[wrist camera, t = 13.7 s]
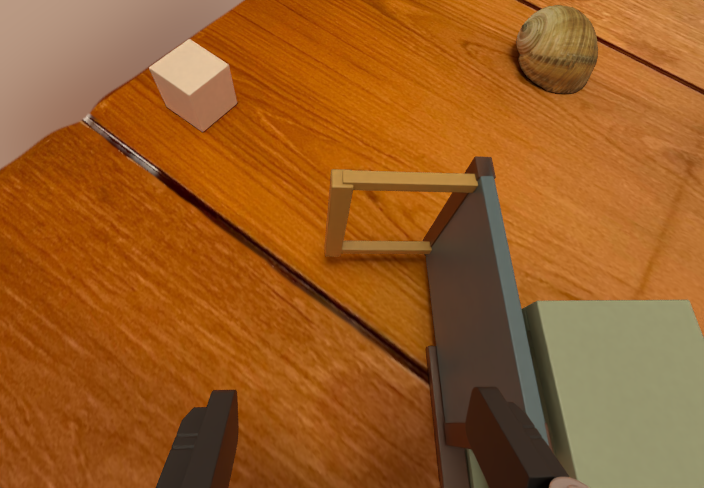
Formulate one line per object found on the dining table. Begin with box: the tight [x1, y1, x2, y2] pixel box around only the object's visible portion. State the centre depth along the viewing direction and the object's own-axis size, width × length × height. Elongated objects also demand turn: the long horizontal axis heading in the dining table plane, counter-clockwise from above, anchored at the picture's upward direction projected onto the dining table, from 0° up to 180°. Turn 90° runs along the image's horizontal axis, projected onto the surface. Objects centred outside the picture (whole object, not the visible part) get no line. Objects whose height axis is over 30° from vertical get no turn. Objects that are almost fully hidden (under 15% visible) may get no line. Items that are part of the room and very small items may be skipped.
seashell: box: [516, 5, 598, 94], centre depth 43 cm, size 10×7×8 cm
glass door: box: [325, 157, 554, 453], centre depth 24 cm, size 9×15×12 cm, turn 2°
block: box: [149, 39, 237, 132], centre depth 36 cm, size 5×5×5 cm
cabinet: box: [426, 300, 704, 488], centre depth 22 cm, size 10×16×13 cm, turn 2°
